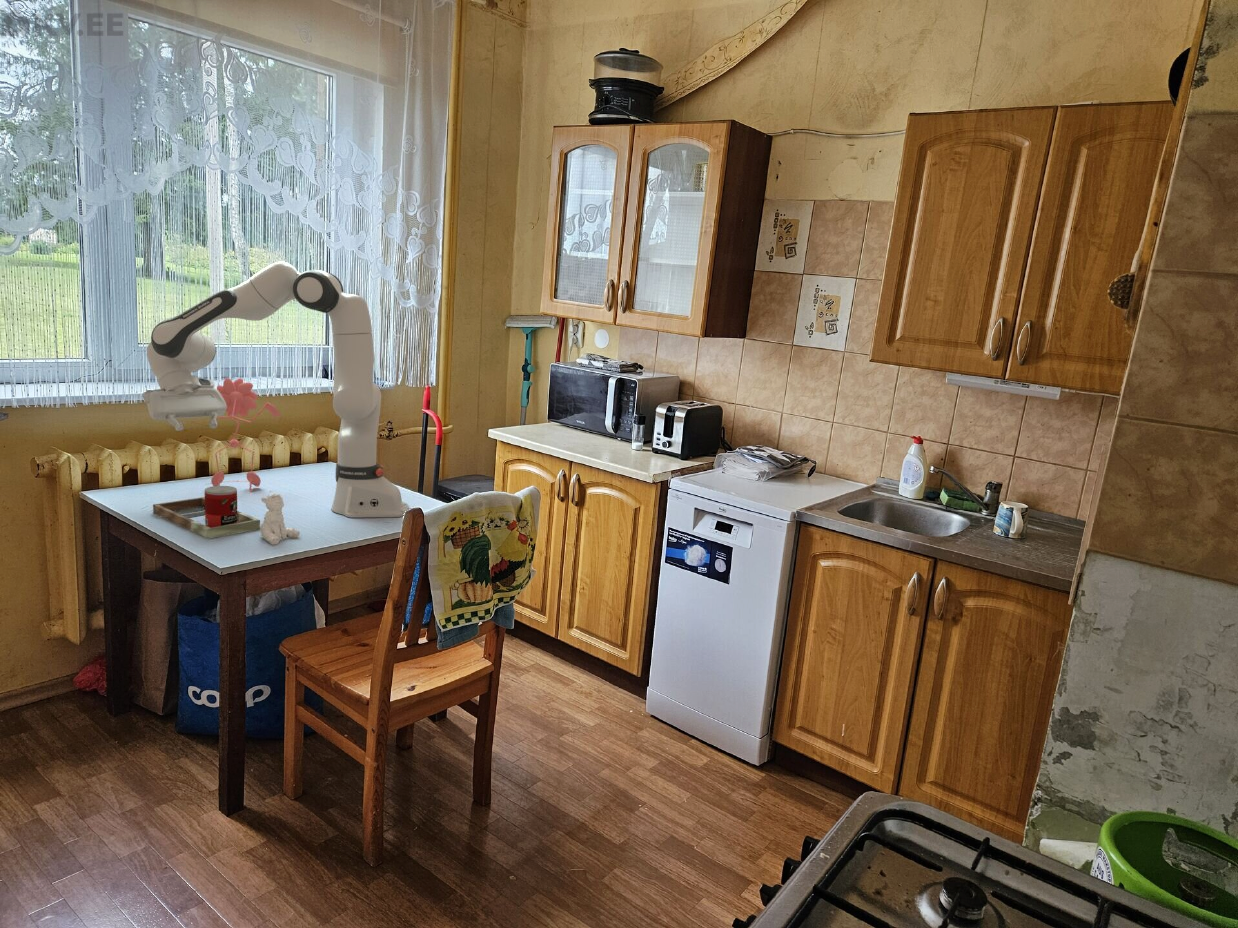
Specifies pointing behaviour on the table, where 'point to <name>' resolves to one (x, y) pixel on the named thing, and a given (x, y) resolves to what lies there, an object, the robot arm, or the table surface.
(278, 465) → the table surface
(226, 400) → the flower headed marionette
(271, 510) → the sitting furry creature
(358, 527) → the table surface
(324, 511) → the table surface
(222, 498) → the canned food
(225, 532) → the shallow wooden tray
